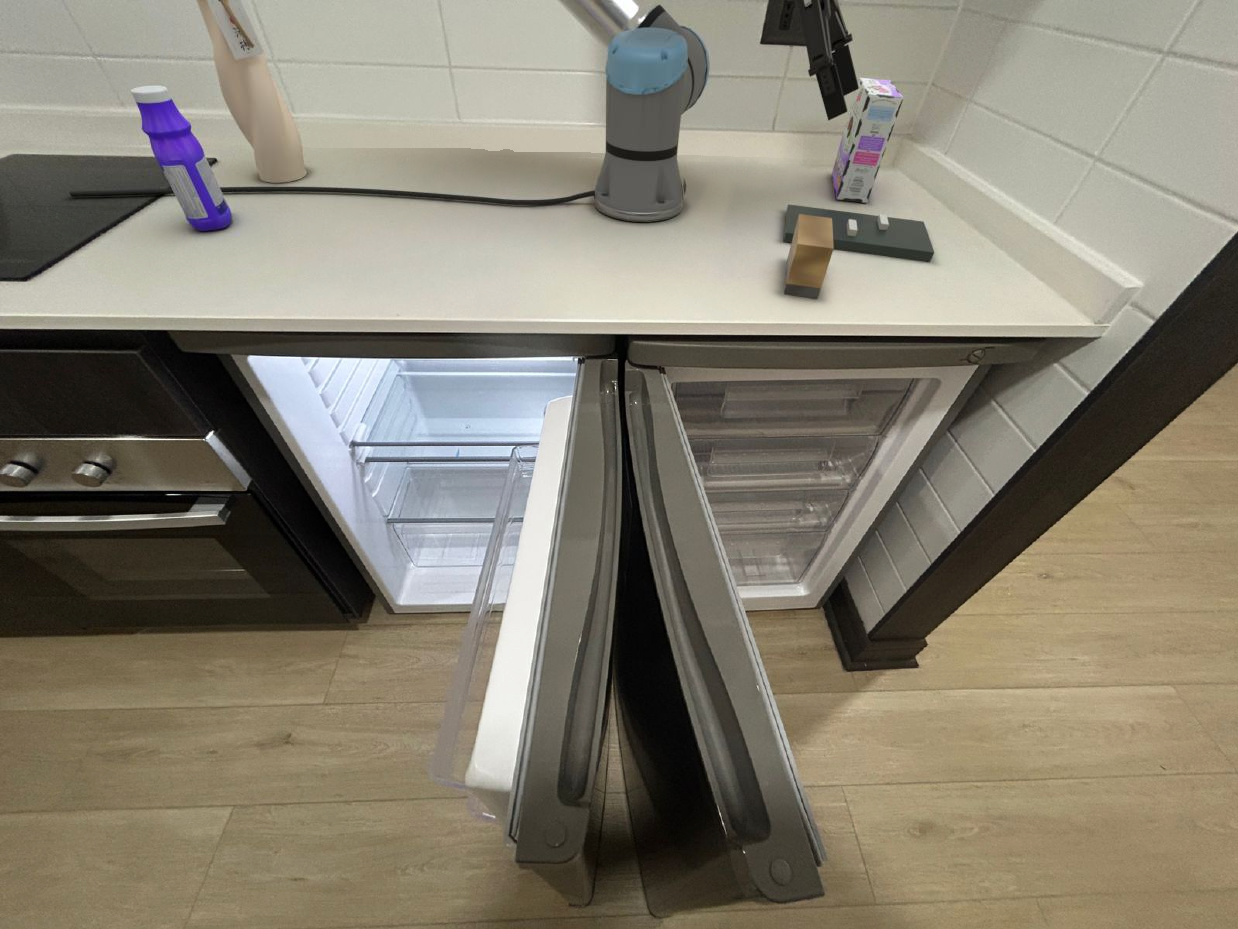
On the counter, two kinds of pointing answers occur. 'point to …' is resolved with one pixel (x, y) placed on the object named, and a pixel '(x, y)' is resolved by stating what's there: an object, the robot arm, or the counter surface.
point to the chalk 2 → (882, 222)
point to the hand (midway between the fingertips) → (844, 103)
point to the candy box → (865, 138)
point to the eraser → (809, 256)
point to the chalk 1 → (851, 227)
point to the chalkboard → (869, 233)
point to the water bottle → (253, 92)
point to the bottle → (182, 159)
